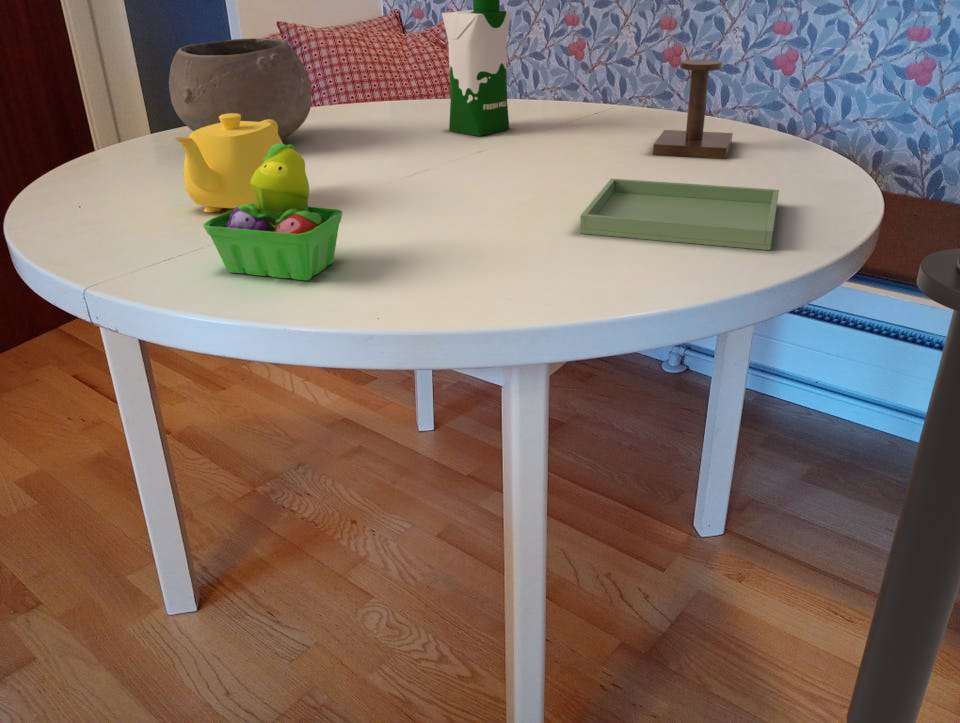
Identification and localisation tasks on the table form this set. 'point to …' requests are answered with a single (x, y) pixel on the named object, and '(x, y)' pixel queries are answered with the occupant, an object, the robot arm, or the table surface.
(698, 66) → the stand
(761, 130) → the table surface
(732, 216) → the tray
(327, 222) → the fruit basket
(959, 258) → the robot arm
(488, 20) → the milk carton
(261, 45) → the clay pot
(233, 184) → the teapot
